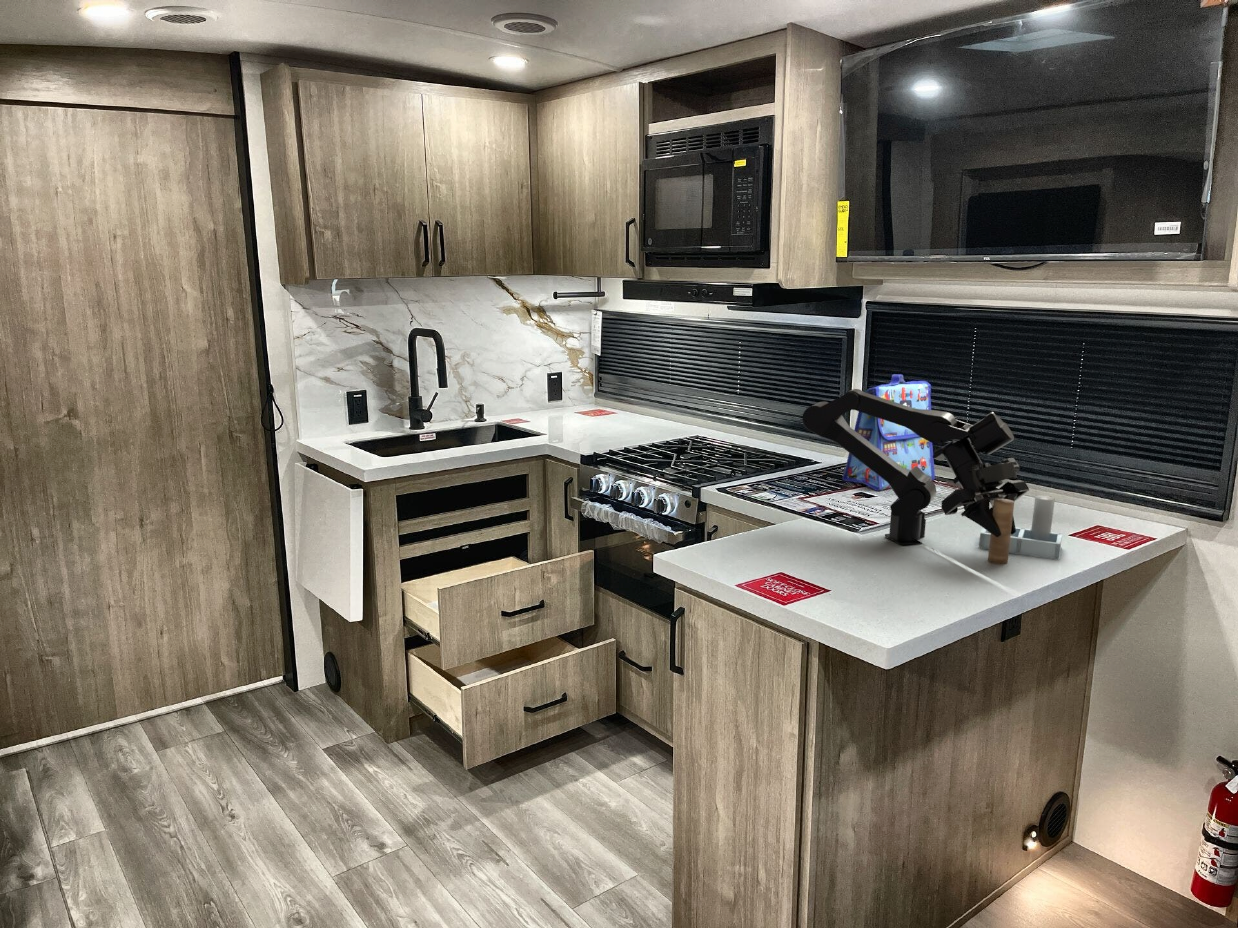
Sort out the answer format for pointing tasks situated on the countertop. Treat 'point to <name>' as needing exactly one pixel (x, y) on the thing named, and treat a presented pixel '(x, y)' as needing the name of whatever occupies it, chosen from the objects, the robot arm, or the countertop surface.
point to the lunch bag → (893, 434)
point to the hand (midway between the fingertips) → (1006, 534)
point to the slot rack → (1028, 544)
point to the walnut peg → (1004, 522)
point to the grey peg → (1042, 518)
